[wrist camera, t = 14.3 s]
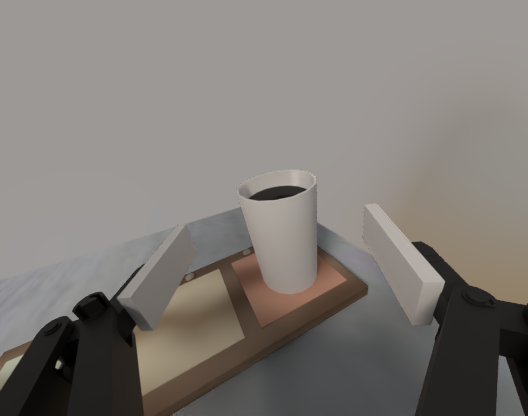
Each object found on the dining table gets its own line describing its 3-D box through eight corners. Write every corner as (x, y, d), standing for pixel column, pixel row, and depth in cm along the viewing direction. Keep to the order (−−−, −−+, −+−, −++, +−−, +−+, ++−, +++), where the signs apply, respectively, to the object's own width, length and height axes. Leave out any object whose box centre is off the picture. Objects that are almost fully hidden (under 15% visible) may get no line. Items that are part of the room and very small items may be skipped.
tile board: (12, 358, 19) (2, 351, 19) (296, 233, 29) (295, 226, 28) (-152, 613, 9) (-183, 614, 9) (367, 294, 19) (368, 285, 18)
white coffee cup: (335, 267, 21) (333, 174, 16) (292, 312, 17) (275, 210, 13) (287, 243, 26) (275, 166, 21) (246, 275, 22) (221, 191, 18)
